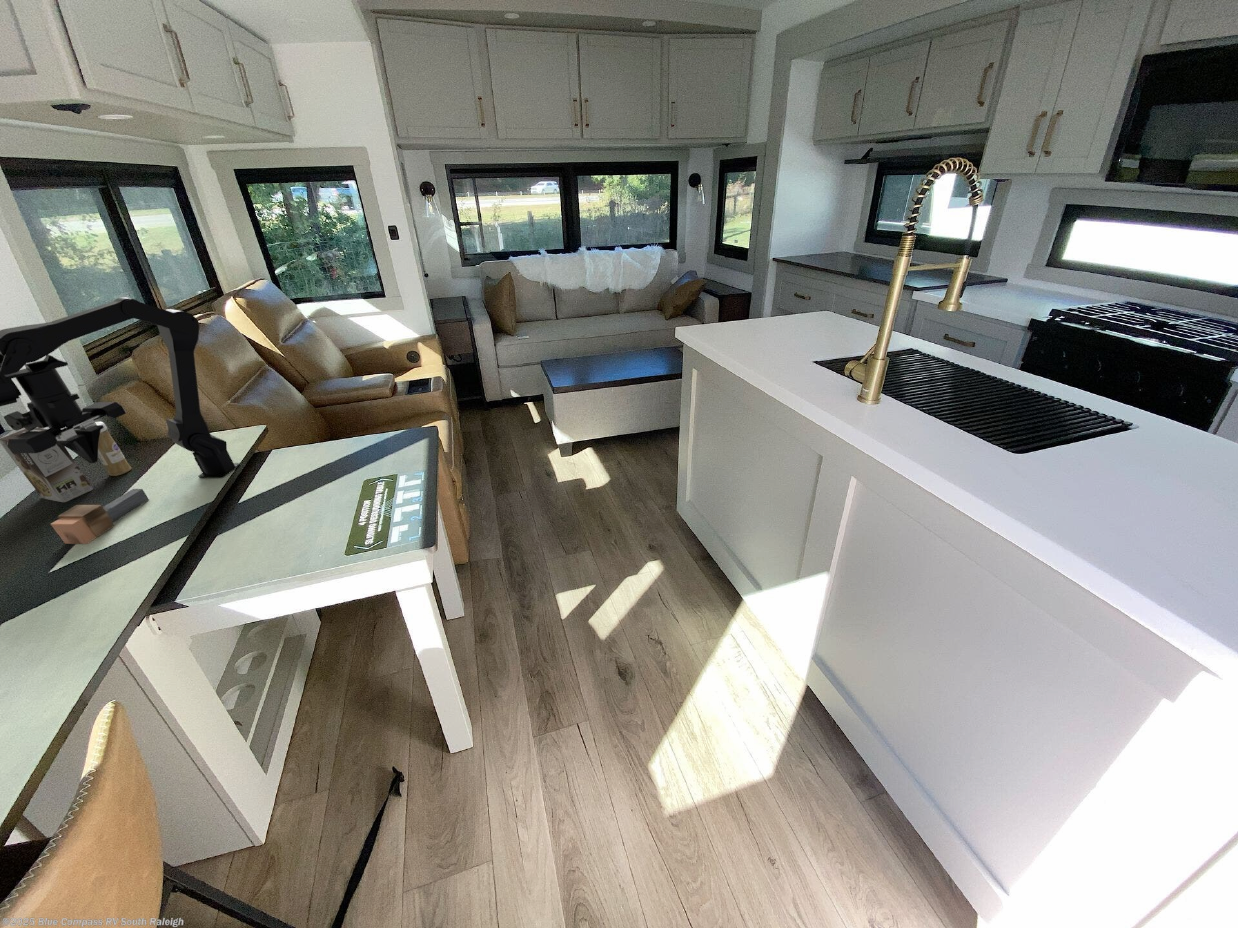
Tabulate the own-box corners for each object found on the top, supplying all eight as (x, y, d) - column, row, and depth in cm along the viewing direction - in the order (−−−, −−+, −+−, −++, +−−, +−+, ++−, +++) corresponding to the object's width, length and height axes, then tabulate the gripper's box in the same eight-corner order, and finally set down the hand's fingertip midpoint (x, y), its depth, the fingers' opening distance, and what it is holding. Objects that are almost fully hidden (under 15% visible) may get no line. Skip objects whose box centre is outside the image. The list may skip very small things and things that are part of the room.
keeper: (91, 525, 111) (76, 504, 109) (115, 525, 111) (101, 504, 108) (72, 536, 108) (57, 516, 105) (97, 536, 107) (82, 516, 105)
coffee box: (95, 489, 125) (55, 429, 117) (63, 503, 120) (19, 442, 112) (72, 484, 128) (31, 426, 120) (40, 498, 123) (-5, 438, 115)
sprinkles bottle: (130, 472, 132) (101, 425, 125) (108, 478, 130) (76, 430, 123) (133, 465, 135) (104, 419, 128) (111, 471, 133) (80, 424, 126)
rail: (139, 499, 120) (132, 488, 118) (149, 499, 120) (142, 488, 118) (70, 543, 106) (62, 531, 105) (81, 543, 106) (72, 532, 104)
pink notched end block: (74, 537, 108) (60, 518, 105) (96, 537, 107) (82, 518, 105) (65, 543, 106) (50, 524, 104) (86, 543, 106) (72, 524, 103)
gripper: (61, 377, 110) (101, 442, 118) (-43, 414, 94) (12, 486, 102) (107, 376, 109) (145, 441, 117) (10, 413, 93) (61, 486, 101)
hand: (93, 462), depth 109 cm, fingers closed
